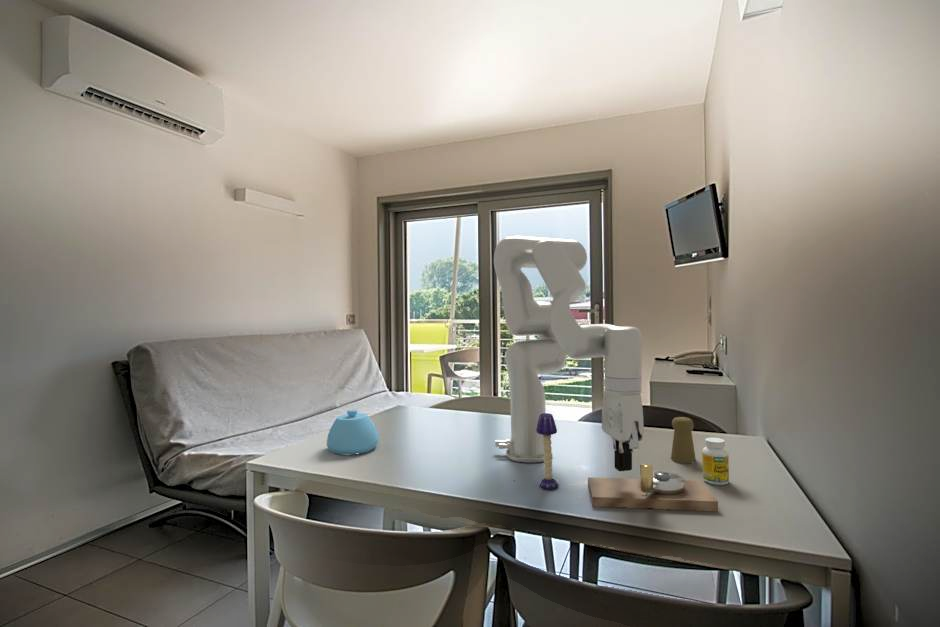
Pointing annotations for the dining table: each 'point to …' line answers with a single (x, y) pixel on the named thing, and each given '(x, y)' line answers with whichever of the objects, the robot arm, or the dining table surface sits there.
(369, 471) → the dining table surface
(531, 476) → the dining table surface
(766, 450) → the dining table surface
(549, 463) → the toy lamp
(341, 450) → the sugar bowl
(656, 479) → the crank handle
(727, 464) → the supplement bottle
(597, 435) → the dining table surface
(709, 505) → the stand plate
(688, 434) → the cork
